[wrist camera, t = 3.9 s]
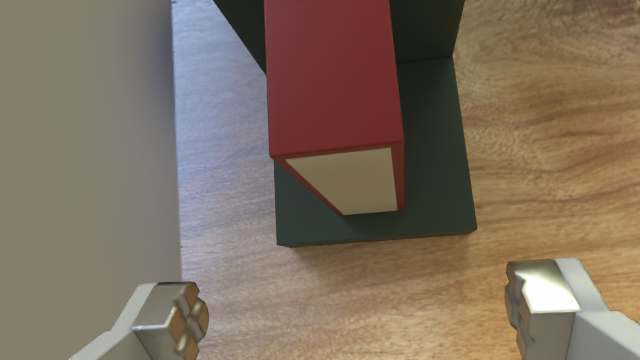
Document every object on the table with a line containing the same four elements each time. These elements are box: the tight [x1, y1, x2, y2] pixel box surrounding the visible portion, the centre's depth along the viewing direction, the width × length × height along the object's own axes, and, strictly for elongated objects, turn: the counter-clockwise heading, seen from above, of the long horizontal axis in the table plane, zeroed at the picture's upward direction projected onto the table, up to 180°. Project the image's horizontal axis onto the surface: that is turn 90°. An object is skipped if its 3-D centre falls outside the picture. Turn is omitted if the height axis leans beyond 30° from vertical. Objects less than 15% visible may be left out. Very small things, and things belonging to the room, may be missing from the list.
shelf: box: [213, 0, 477, 248], centre depth 24 cm, size 12×25×14 cm, turn 4°
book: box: [264, 0, 404, 216], centre depth 20 cm, size 4×8×14 cm, turn 4°
